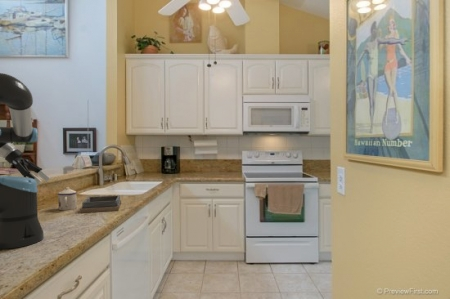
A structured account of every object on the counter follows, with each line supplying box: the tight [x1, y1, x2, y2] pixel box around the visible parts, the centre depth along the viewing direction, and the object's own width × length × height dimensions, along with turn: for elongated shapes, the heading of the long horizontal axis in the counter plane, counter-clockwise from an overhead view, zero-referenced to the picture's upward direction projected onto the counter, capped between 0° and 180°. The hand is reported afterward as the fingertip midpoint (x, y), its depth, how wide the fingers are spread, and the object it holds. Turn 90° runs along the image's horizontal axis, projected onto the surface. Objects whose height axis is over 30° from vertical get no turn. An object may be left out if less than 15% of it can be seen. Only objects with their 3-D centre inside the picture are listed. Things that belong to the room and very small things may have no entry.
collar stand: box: [80, 194, 122, 214], centre depth 156 cm, size 20×18×5 cm
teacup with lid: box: [57, 186, 78, 211], centre depth 153 cm, size 12×9×12 cm
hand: (44, 181), depth 150 cm, fingers open, 13 cm apart
